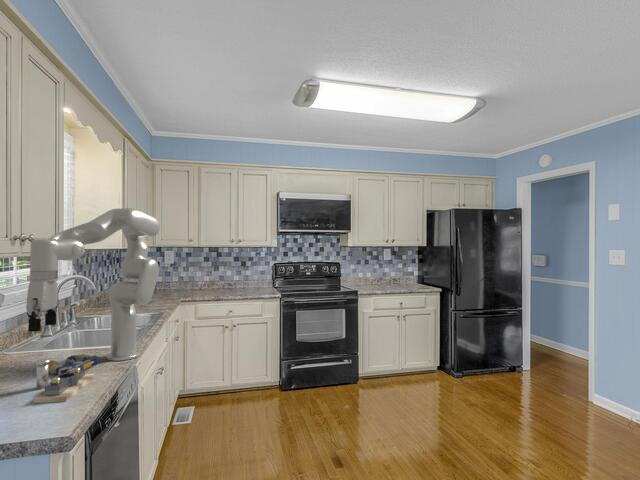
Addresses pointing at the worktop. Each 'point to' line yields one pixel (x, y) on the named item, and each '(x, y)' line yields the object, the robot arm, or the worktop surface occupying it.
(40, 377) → the light bulb
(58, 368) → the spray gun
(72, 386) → the ring socket base plate
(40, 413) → the worktop surface
